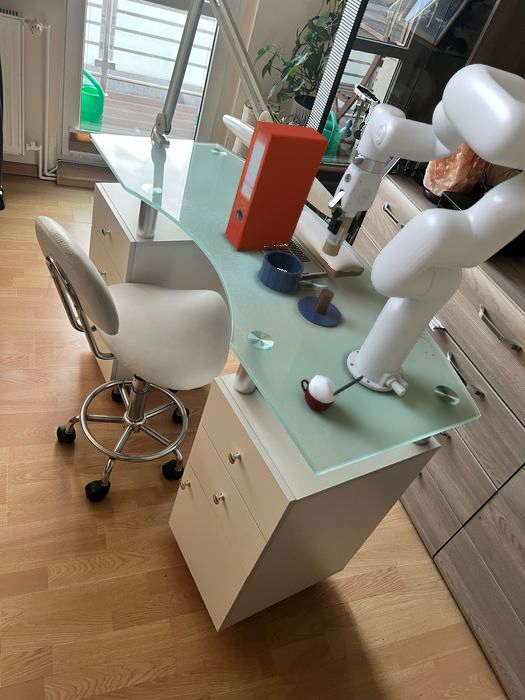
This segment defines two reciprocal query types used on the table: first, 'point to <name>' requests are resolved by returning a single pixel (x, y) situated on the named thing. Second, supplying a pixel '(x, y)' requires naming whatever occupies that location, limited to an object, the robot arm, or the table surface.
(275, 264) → the pot
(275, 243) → the file binder
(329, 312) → the pot lid
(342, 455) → the table surface
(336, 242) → the sprinkles bottle
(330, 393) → the cocoa
